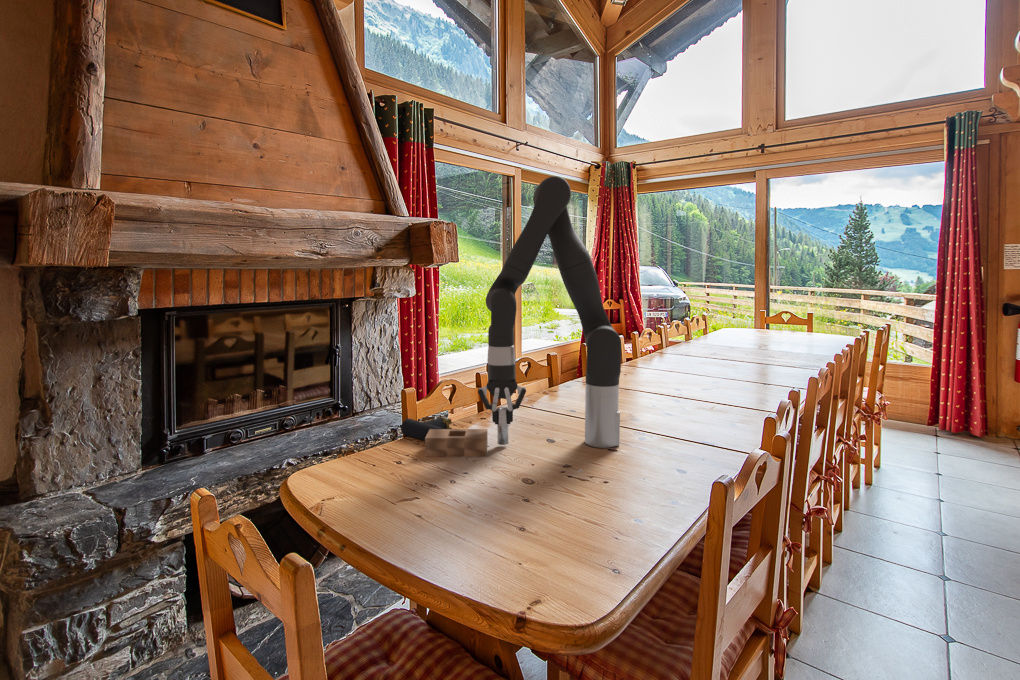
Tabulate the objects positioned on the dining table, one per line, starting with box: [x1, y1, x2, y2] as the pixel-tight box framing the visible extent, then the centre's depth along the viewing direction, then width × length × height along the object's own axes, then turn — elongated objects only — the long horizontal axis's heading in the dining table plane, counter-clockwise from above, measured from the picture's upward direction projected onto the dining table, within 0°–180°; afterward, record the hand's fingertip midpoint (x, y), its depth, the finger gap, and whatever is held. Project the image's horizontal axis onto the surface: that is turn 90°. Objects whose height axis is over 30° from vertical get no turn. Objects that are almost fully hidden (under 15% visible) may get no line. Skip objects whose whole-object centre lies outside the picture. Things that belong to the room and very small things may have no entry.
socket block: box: [424, 428, 489, 458], centre depth 145 cm, size 16×8×5 cm, turn 90°
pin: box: [496, 406, 509, 446], centre depth 148 cm, size 3×3×10 cm
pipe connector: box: [400, 416, 453, 442], centre depth 158 cm, size 12×5×15 cm
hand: (502, 423), depth 148 cm, fingers closed on pin, 3 cm apart
